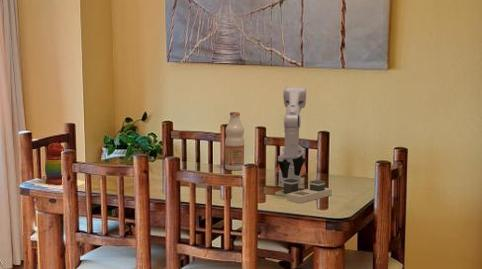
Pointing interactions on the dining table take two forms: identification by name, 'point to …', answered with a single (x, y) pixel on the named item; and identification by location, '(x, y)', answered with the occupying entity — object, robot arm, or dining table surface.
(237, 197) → the dining table surface
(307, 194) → the strip
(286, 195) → the tray
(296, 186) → the plug
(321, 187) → the twin plug
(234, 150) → the fruit juice
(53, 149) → the stacking bear
